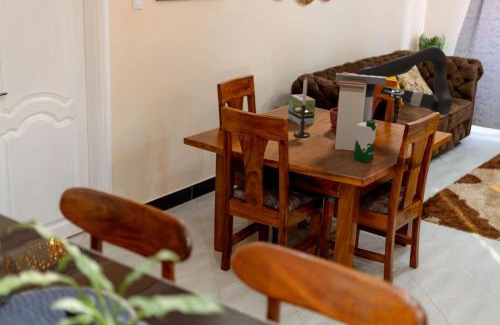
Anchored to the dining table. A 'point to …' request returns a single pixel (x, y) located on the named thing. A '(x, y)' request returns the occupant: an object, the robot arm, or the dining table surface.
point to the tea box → (296, 102)
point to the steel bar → (362, 78)
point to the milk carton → (365, 141)
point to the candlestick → (303, 113)
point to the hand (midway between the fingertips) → (381, 89)
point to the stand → (349, 112)
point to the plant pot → (334, 120)
